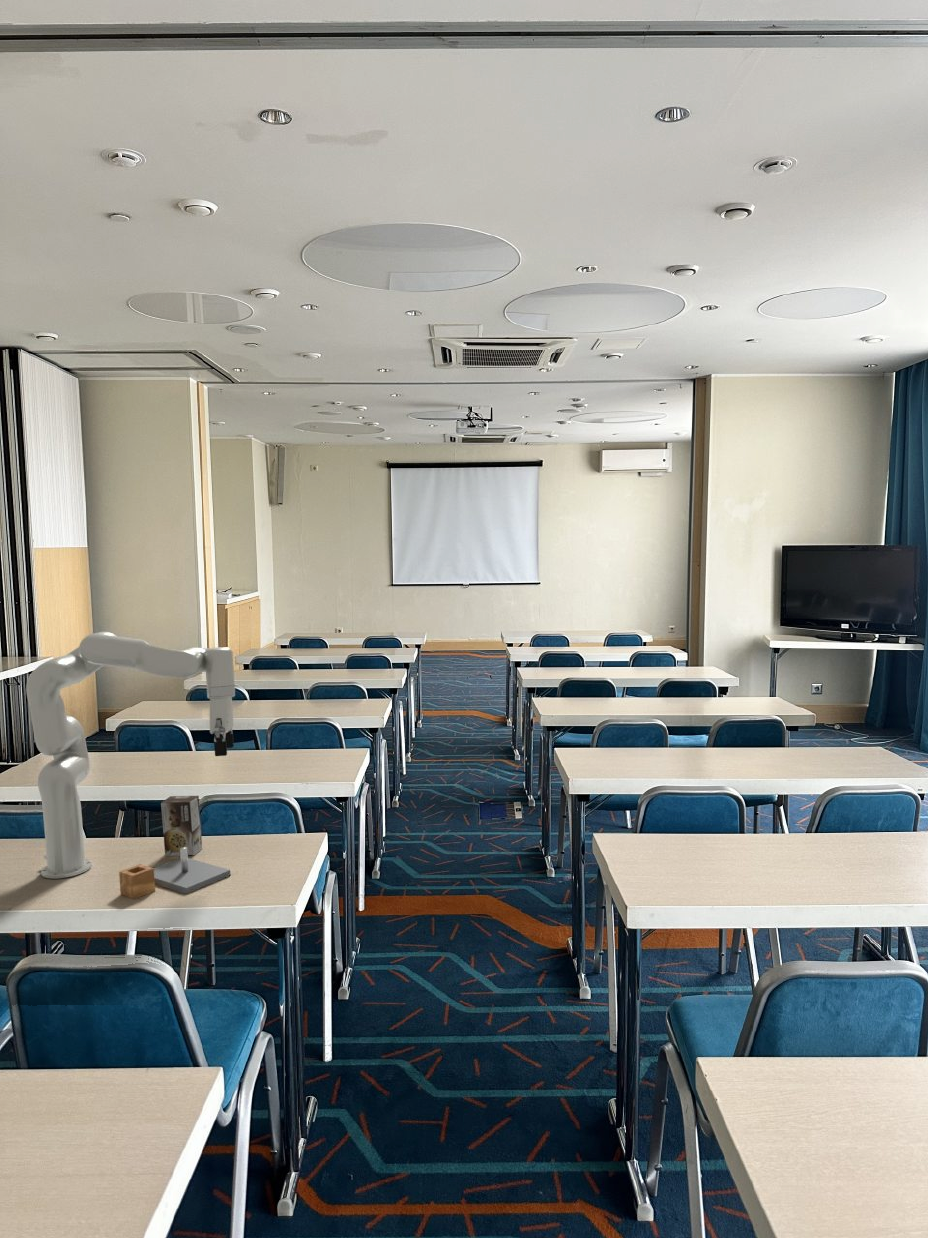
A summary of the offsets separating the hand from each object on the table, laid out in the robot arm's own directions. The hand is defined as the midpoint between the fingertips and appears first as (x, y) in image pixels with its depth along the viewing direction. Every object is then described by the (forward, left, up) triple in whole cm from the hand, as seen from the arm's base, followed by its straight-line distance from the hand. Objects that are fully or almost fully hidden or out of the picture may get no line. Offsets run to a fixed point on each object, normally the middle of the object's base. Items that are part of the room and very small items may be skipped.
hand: (224, 751), depth 232 cm
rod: (0, -15, -30) cm, 33 cm away
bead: (-2, -28, -31) cm, 42 cm away
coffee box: (-17, -3, -32) cm, 36 cm away
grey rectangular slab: (0, -15, -31) cm, 35 cm away
